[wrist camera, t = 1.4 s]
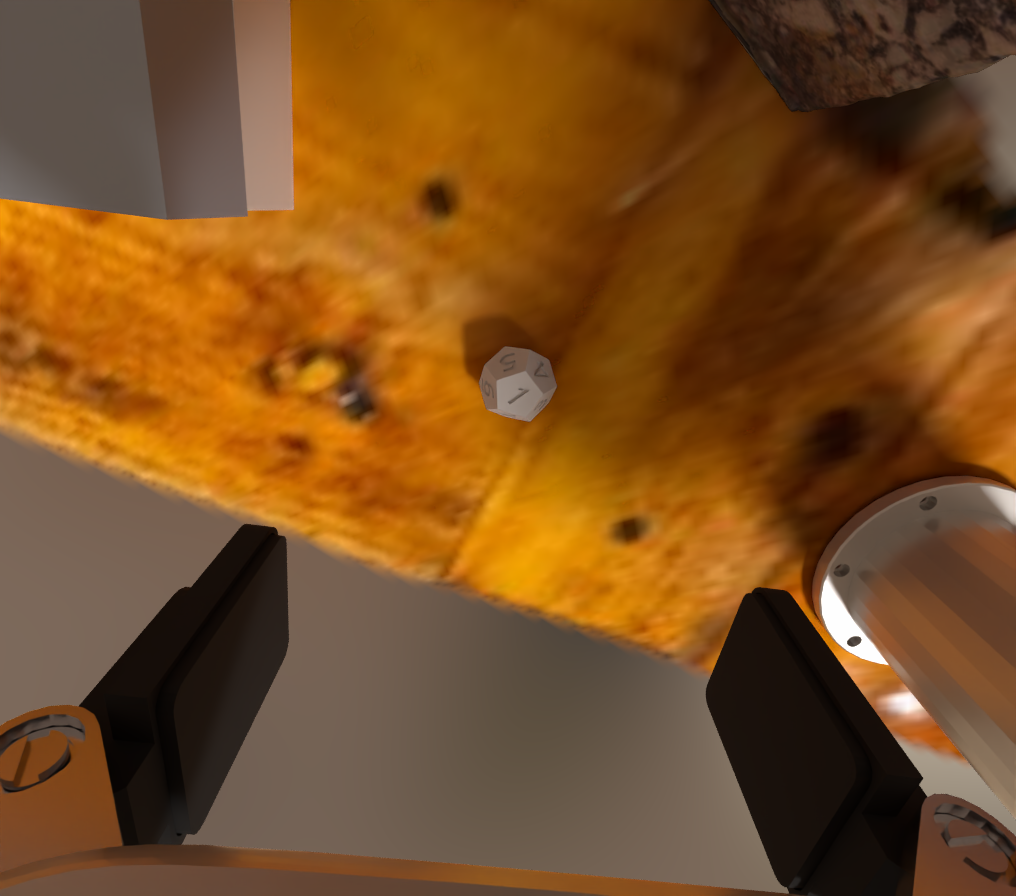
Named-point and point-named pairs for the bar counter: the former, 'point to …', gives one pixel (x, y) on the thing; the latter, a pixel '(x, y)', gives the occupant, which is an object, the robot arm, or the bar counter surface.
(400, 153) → the bar counter surface
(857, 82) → the stone block
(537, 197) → the bar counter surface
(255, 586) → the robot arm
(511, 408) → the game die
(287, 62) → the lower block
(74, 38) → the upper block
